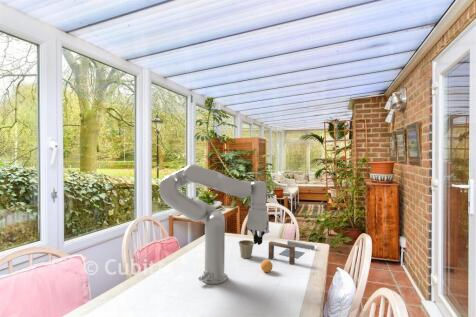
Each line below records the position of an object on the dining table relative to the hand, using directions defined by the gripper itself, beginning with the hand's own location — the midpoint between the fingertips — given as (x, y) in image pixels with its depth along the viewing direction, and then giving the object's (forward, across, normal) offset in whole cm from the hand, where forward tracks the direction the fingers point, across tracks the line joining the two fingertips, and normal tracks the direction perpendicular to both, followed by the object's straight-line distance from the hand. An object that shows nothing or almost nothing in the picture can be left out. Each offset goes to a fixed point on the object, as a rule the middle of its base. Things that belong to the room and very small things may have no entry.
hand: (257, 243), depth 138 cm
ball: (+14, 0, +10) cm, 17 cm away
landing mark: (+17, 0, +42) cm, 46 cm away
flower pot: (+17, -20, +22) cm, 34 cm away
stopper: (+17, 0, +58) cm, 60 cm away
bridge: (+17, 0, +28) cm, 32 cm away
